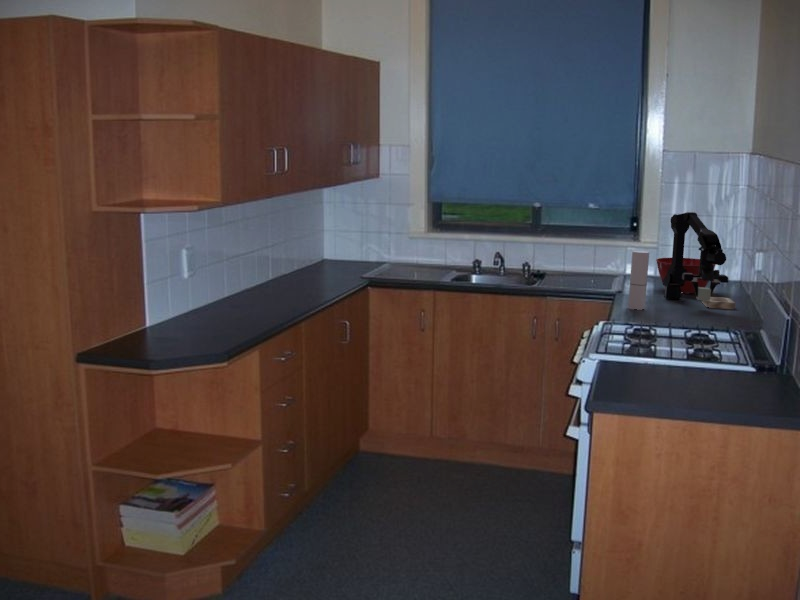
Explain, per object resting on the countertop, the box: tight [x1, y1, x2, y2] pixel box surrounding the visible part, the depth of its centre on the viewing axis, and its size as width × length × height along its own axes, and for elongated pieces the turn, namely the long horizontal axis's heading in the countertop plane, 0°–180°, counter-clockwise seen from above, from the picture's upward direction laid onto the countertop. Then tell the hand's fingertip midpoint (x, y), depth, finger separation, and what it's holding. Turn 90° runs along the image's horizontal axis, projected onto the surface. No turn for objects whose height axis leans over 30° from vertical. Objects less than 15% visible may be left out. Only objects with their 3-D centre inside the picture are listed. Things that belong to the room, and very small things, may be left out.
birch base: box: [701, 296, 736, 310], centre depth 404 cm, size 12×12×3 cm
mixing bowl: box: [655, 257, 717, 293], centre depth 439 cm, size 28×28×16 cm
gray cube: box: [695, 286, 712, 301], centre depth 393 cm, size 5×5×5 cm
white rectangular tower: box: [627, 250, 650, 311], centre depth 390 cm, size 7×7×25 cm
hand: (703, 297), depth 393 cm, fingers closed on gray cube, 5 cm apart
